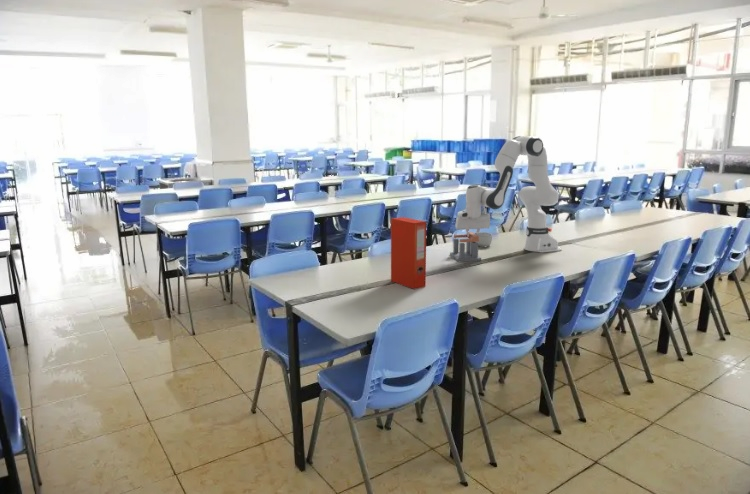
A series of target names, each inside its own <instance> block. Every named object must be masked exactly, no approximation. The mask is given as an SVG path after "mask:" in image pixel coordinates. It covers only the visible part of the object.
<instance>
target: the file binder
mask: <svg viewBox="0 0 750 494" xmlns="http://www.w3.org/2000/svg"><path fill="white" fill-rule="evenodd" d="M426 270H427V221H425V220H420V219H415V218H410V217H405V216H400V217H393V218H390V282H393V283H396V284H397V285H401V286H404V287H407V288H410V289H412V290H416V289H421V288H424V287H426V281H427V280H426V279H427V278H426V274H427V273H426V272H427V271H426Z"/></svg>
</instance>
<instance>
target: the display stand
mask: <svg viewBox="0 0 750 494" xmlns="http://www.w3.org/2000/svg"><path fill="white" fill-rule="evenodd" d="M465 245H466V247H465ZM465 249H466V250H465ZM449 256H451V257H452V258H453V259H454V258H455V259H456V260H457V261H456V260H455V259H454V260H455V261H456V262H458V261H461V262H476V261H479V262H480V261H482V257H481V256H479V246H478V242H466V244H465V242H459V238H453V249H452V252H451V251H450V252H449Z"/></svg>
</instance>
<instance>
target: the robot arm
mask: <svg viewBox="0 0 750 494" xmlns="http://www.w3.org/2000/svg"><path fill="white" fill-rule="evenodd" d="M520 155H521V156H527V158H528V161H527V166H528V168H527V171H528V174H527V175H528V179H529V180H530V181H531V182H532V183H533V184H534V185H532V186H531V185H528V186H523V187H522V188H521V189H520V190H519V192H518V197H519V201H521V202H522V204H523V205H524V206H525V207H524V208H525V209H526V212H527V213H526V214H527V226H526V231H525V232H526V238H525V243H524V247H523V250H525V251H528V252H536V253H549V252H557V251H558V252H560V251H562V248H561V247H560V246H559V243H558V240H557V238H555V236H553V235H552V234H550V233H551V232H552V230H553V229H552V228H550V227H549V228H548V227H547V218H548V216H547V214H546V212H545V211H544V210H543V209H542V208H541V207H542V206H544V207H547V206H549V207H551V206H555V205H556V204H557V203H558V201H559V198H560V197H559V192H558V191H557V190H556V189H555V187H554V186H553V185H552V183H551V182H550V178H549V173H548V172H549V171H548V155H547V150H546V148H545V147H544V143H543V141H542V139H541V138H540V137H537V136H531V135H530V136H529V135H525V136H521V135H519V136H515V137H513V138H512V139H508V140H507V141H506V142H505V143H504V144H503V145H502V147H501V149H500V150H499V152H498V154H497V156H496V158H495V160H494V166H495V169H496V170H497V171H498V173H499V179H498V182H497V184H496V187H495V189H494V190H489V189H487V188H484V187H482V186H481V185H480V184H470V185H468V186H467V188H466V191H465V202H466V204H465V209H463V210H460V211H458V212H457V217H456V219H455V223H454V224H455V225H454V226H455V228H456V230H458V231H459V230H465V232H466V234H467V236H468V237H470V235H471V234H470V233H469V232H470V230H476V232H474V234H476V235H477V236H478V233H479V232H480V231H481V229H490V227H491V220H490V219H491V213H490V212H487V211H486V212H482V206H483V207H486V208H490V209H492V210H499V209H500V208H502V206H504V203H505V199H506V193H507V191H508V189H509V186H510V182H511V180H512V178H513V173H514V166H515V164H516V162H517V160H518V158H519V156H520Z"/></svg>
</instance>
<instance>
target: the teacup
mask: <svg viewBox="0 0 750 494" xmlns="http://www.w3.org/2000/svg"><path fill="white" fill-rule="evenodd" d="M478 236H479V241H478V247H481V246H487V247H489V246H490V245H491V244H492V241H493V239H492V238H493V234H492V233H491V232H485V231H484V232H483V231H481V232H480V231H479V233H478ZM470 239H471V238H470Z"/></svg>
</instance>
